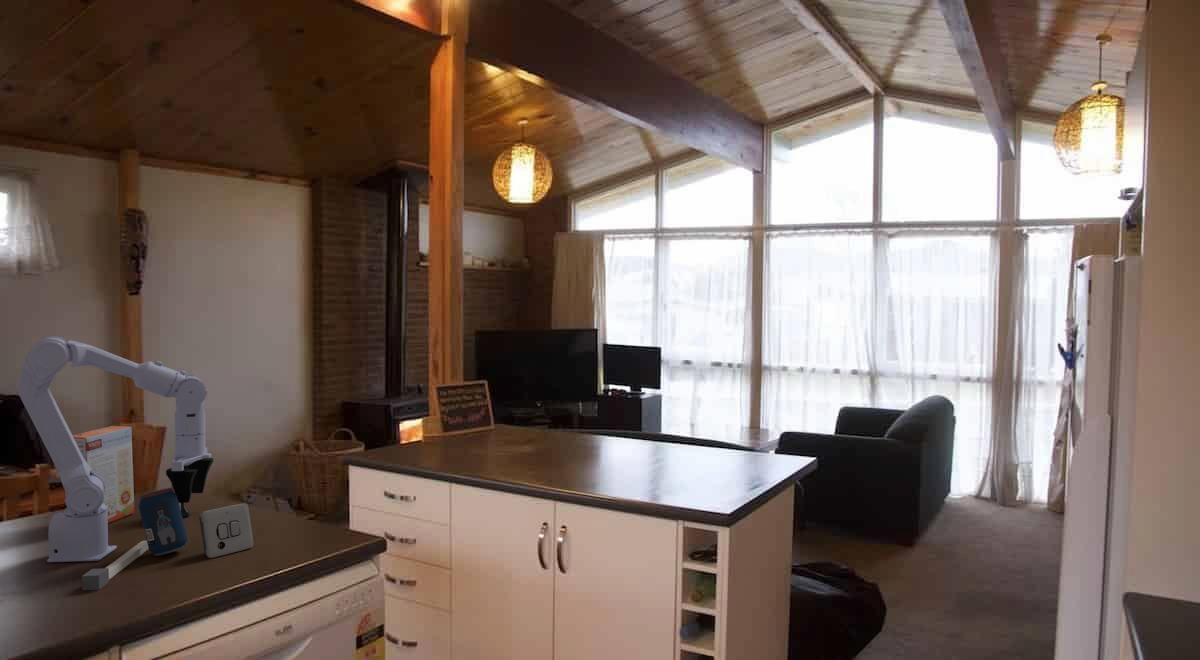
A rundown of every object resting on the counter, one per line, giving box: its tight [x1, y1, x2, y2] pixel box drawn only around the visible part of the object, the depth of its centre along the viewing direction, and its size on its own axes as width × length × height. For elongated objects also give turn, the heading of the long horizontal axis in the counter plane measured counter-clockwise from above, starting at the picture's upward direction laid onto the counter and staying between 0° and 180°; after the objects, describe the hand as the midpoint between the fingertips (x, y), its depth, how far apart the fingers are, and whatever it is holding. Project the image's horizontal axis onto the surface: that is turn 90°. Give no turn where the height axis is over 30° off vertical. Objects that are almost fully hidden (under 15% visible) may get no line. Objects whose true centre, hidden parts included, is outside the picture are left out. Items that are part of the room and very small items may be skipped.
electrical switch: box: [198, 503, 254, 559], centre depth 162 cm, size 9×5×9 cm, turn 141°
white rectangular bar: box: [81, 540, 149, 591], centre depth 152 cm, size 3×23×3 cm, turn 8°
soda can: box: [138, 487, 188, 556], centre depth 159 cm, size 7×7×12 cm
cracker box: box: [72, 425, 135, 524], centre depth 180 cm, size 14×6×21 cm, turn 172°
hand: (190, 497), depth 167 cm, fingers open, 7 cm apart
